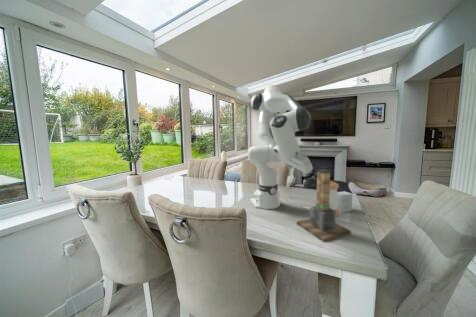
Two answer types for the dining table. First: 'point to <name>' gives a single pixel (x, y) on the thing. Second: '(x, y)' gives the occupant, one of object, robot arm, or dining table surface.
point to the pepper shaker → (333, 196)
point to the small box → (344, 201)
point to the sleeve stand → (323, 225)
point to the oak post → (323, 190)
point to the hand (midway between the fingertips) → (297, 171)
